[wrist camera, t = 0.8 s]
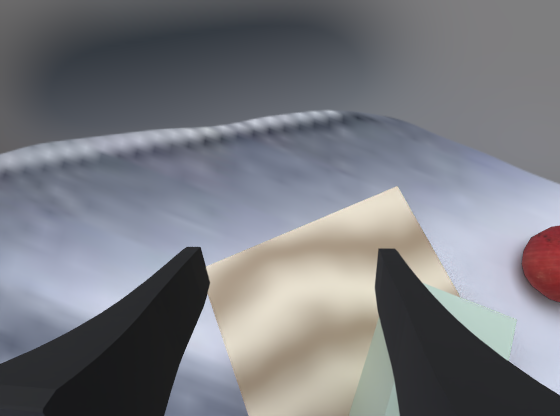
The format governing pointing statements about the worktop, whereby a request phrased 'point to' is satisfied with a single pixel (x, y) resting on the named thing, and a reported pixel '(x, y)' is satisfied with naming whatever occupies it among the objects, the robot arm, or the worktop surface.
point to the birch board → (314, 305)
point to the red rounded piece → (544, 262)
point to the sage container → (377, 369)
